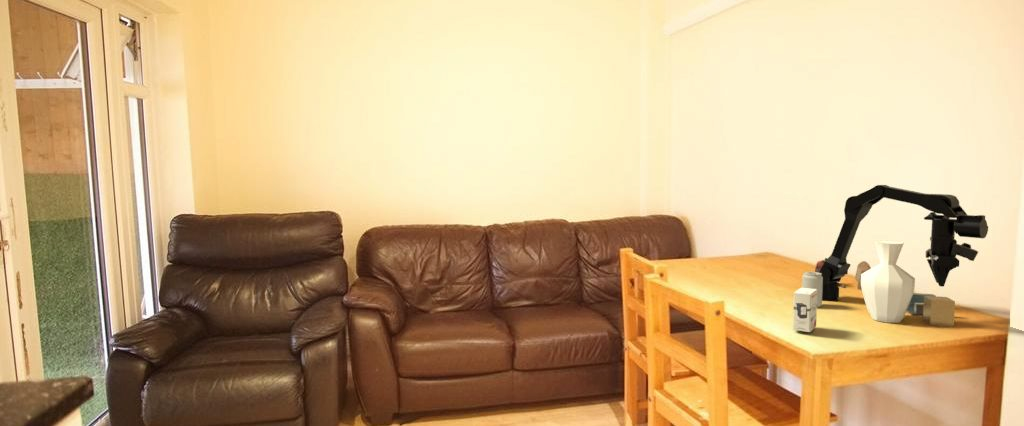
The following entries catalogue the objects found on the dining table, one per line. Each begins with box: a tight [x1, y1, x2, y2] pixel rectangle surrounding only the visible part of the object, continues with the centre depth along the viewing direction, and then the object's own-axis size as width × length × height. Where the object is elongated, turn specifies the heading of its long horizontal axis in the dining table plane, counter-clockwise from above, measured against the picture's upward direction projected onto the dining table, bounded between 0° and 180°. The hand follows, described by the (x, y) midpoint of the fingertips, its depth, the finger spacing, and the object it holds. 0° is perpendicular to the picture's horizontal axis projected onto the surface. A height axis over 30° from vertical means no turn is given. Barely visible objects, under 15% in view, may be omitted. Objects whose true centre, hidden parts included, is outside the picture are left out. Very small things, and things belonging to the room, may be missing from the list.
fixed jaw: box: [914, 303, 924, 314], centre depth 180 cm, size 10×2×3 cm, turn 71°
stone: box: [854, 260, 872, 291], centre depth 222 cm, size 18×10×4 cm
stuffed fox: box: [814, 257, 847, 288], centre depth 222 cm, size 8×11×12 cm
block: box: [922, 295, 956, 328], centre depth 171 cm, size 6×6×8 cm
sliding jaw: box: [909, 292, 936, 304], centre depth 194 cm, size 18×2×3 cm, turn 71°
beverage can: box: [801, 271, 823, 309], centre depth 194 cm, size 6×6×12 cm
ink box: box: [792, 287, 818, 333], centre depth 167 cm, size 8×5×12 cm, turn 140°
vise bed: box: [906, 304, 923, 317], centre depth 187 cm, size 11×16×1 cm
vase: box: [861, 240, 916, 324], centre depth 176 cm, size 14×14×25 cm
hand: (940, 284), depth 172 cm, fingers open, 5 cm apart
